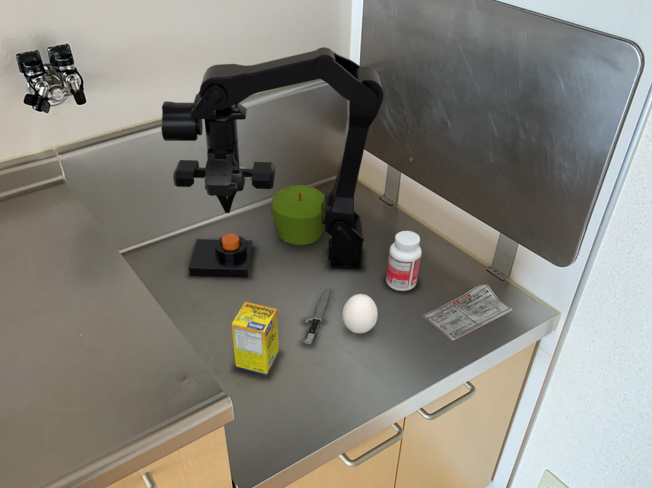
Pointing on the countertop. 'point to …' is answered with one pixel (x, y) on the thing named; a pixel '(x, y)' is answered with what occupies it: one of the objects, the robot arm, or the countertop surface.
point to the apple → (298, 214)
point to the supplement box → (255, 338)
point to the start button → (230, 242)
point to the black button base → (220, 259)
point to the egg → (360, 313)
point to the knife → (317, 318)
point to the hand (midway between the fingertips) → (227, 212)
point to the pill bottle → (404, 261)
